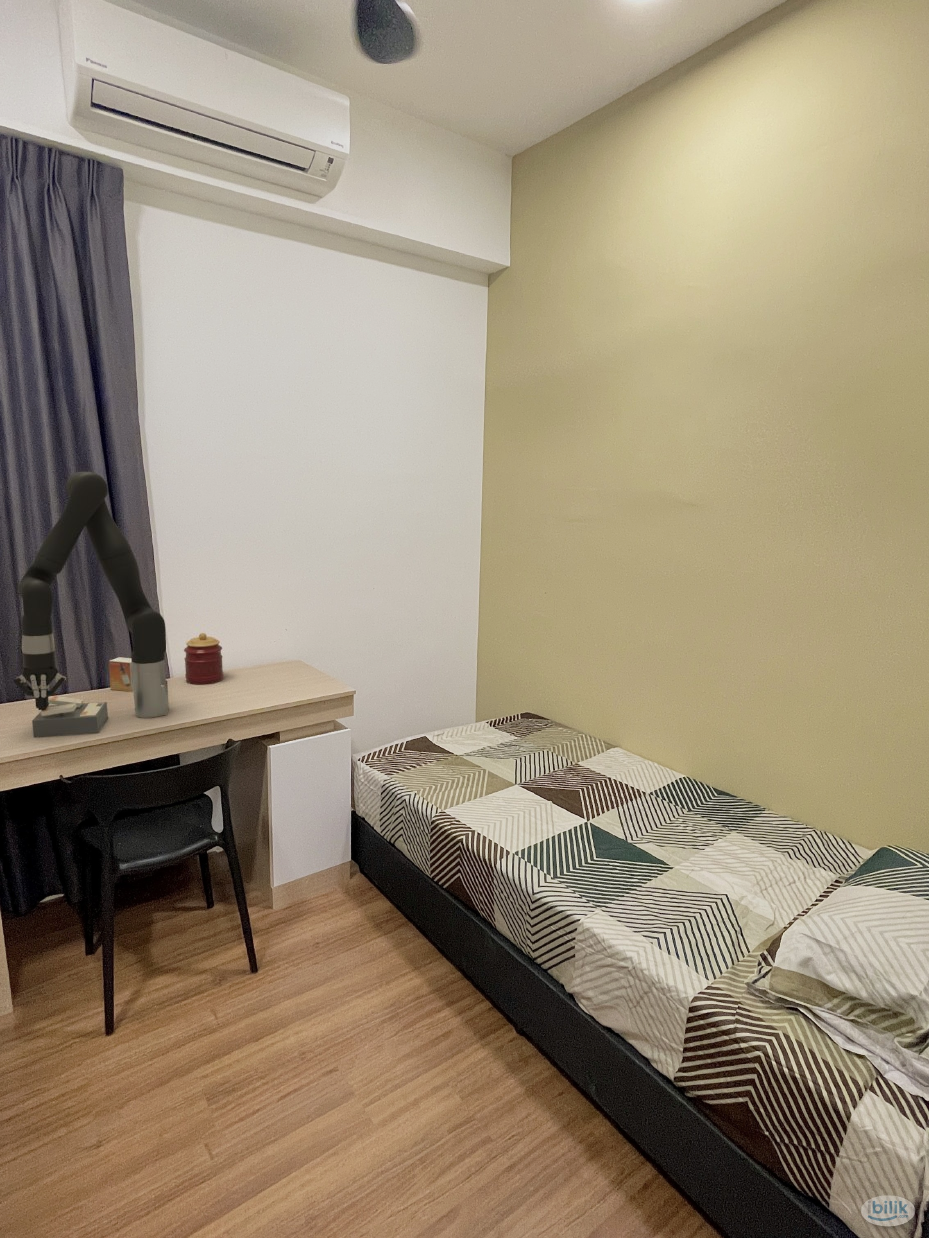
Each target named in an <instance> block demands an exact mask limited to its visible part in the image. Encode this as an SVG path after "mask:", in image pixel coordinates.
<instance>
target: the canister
mask: <svg viewBox="0 0 929 1238" xmlns="http://www.w3.org/2000/svg"><path fill="white" fill-rule="evenodd" d="M185 645H186V647H184V649H183V651H184V653H185V657H184V661H185V663H184V668H185V674H184V675H185V681H186V682H187V683H189V684H192V685H210V684H216V683H219V682H221V681H222V680H223V678H224V671H223V667H224V666H223V655H222V653H221V652H222V650H223V646H222V645H220V641H219V640H218V639H217V638H215V637H212V636H207V634H206V633H204V632H201V633H199V635H198V637H193V638H191V639H190V640H188V641H186V643H185Z"/></svg>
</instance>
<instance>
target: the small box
mask: <svg viewBox="0 0 929 1238" xmlns="http://www.w3.org/2000/svg"><path fill="white" fill-rule="evenodd" d="M108 663H109V665H108V667H109V669H108V670H109V681H110V684H109V685H110V690H113V691H121V692H122V691H123V692H128V693H129V692H130V693H132V692H134V690H133V675H132V661H131V657H130V658H129V657H121V656H120V657H115V658H114V659H110V660H108Z"/></svg>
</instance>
